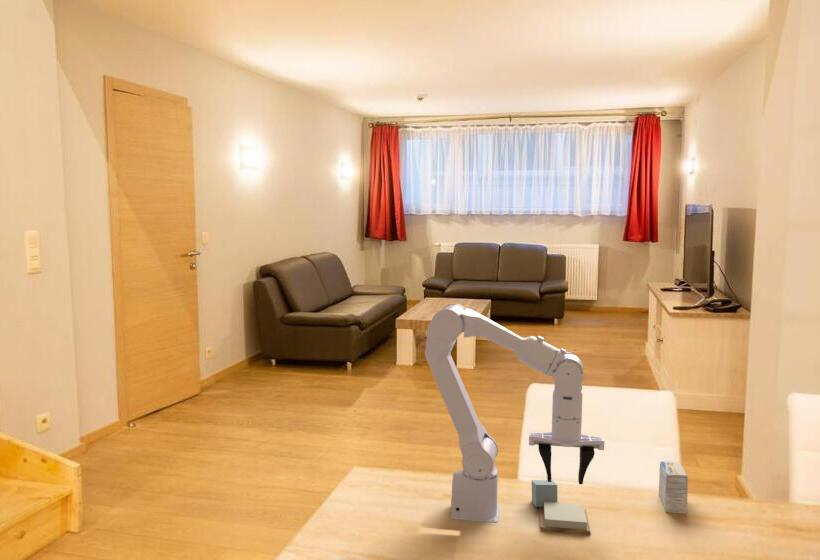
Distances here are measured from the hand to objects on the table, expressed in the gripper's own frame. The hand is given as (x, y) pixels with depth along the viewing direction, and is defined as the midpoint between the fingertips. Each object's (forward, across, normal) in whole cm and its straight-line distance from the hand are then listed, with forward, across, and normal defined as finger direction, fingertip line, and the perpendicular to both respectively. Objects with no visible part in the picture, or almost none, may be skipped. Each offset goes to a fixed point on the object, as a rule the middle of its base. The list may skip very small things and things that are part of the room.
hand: (564, 481), depth 133 cm
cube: (+8, -4, +6) cm, 11 cm away
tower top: (+8, 0, 0) cm, 8 cm away
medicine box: (+9, +23, +11) cm, 27 cm away
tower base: (+9, 0, 0) cm, 9 cm away
